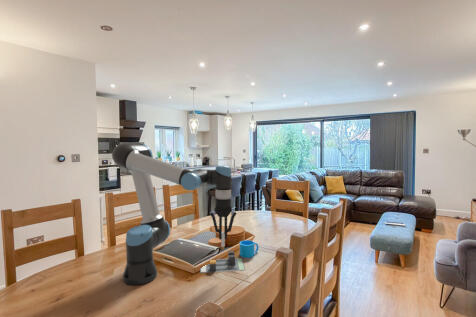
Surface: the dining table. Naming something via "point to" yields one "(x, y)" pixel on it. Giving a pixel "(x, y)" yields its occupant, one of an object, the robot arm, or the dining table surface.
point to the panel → (225, 266)
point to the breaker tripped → (212, 265)
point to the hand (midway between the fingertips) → (222, 245)
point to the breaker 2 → (231, 259)
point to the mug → (247, 248)
